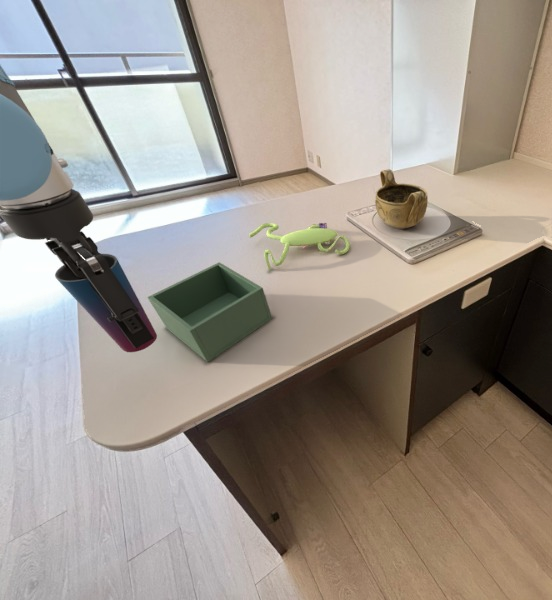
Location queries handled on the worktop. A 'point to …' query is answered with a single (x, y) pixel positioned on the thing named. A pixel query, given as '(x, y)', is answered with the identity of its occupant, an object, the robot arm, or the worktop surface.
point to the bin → (212, 309)
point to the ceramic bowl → (400, 202)
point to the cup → (96, 306)
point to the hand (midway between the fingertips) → (133, 333)
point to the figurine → (302, 239)
